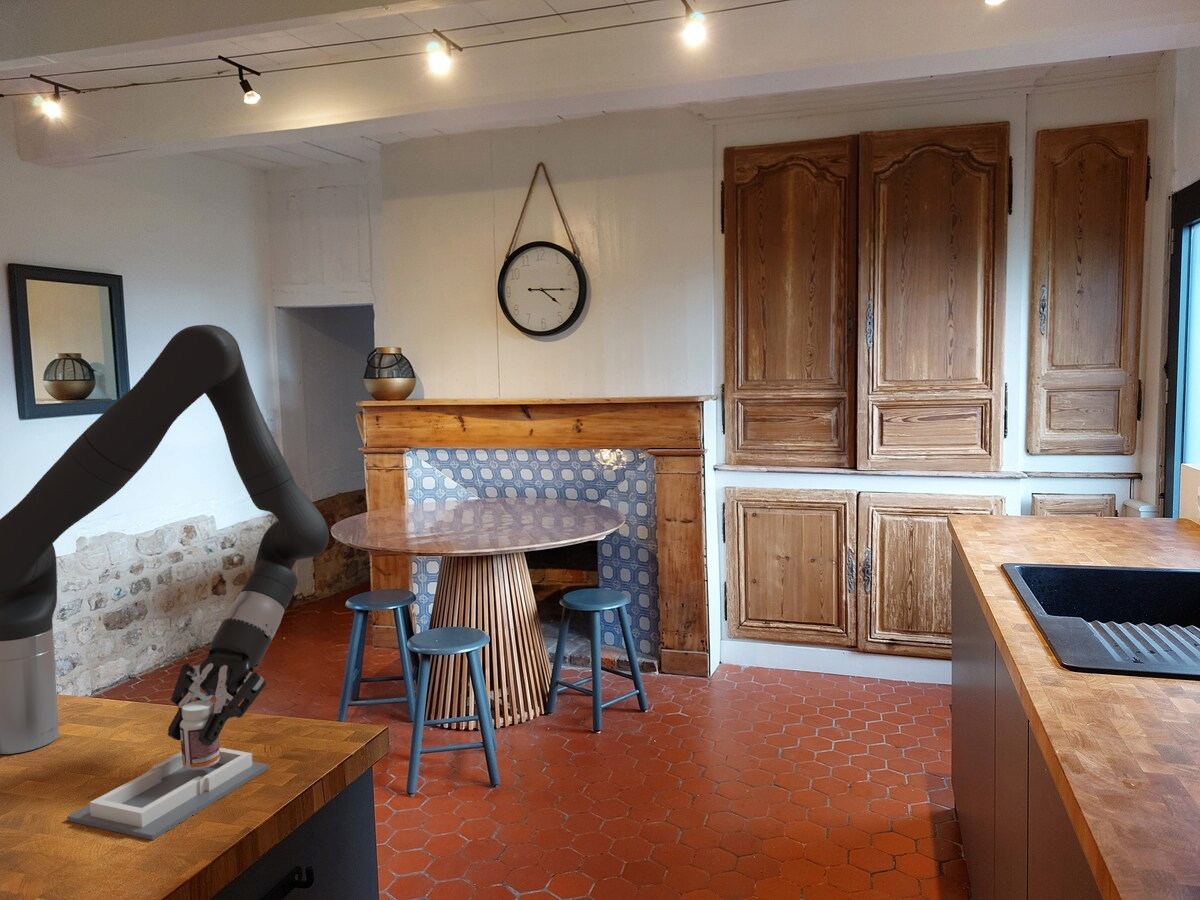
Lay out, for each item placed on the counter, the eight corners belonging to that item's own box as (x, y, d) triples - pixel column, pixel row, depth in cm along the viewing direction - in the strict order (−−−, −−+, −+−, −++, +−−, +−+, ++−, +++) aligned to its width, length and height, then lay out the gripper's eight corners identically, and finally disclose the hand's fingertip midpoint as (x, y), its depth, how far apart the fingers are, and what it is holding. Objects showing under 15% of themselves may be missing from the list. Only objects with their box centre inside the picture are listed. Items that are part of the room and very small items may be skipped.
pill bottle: (227, 757, 120) (224, 700, 119) (203, 773, 115) (199, 713, 115) (199, 754, 121) (196, 697, 121) (174, 769, 117) (170, 710, 116)
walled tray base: (67, 820, 107) (66, 802, 107) (192, 754, 126) (191, 738, 126) (152, 840, 102) (151, 821, 102) (268, 768, 121) (268, 752, 121)
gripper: (195, 612, 126) (131, 722, 116) (274, 620, 121) (214, 736, 111) (224, 637, 131) (165, 744, 121) (300, 645, 127) (245, 758, 116)
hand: (189, 740), depth 116 cm, fingers closed on pill bottle, 4 cm apart
